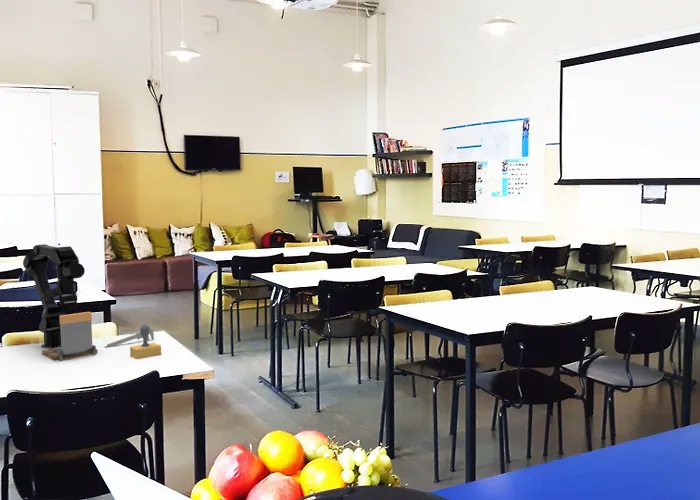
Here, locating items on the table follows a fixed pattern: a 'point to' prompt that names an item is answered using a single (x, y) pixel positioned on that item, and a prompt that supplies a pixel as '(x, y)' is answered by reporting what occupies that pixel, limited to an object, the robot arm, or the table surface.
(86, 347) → the gray slab
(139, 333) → the caliper
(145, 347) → the rubber stamp
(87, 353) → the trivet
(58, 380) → the table surface
